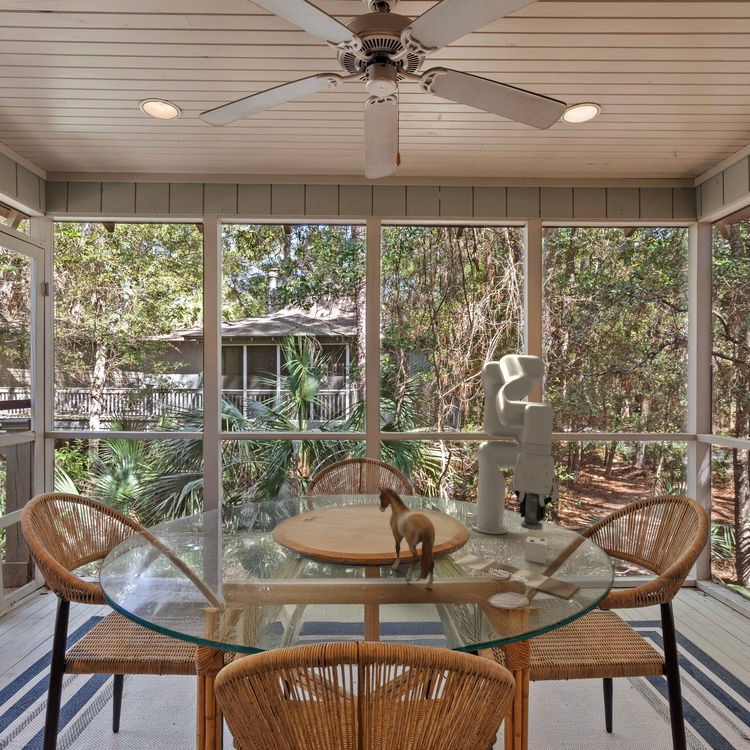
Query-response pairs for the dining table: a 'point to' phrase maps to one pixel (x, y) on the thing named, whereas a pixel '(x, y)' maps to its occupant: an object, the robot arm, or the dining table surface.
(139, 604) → the dining table surface
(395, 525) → the horse figurine
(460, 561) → the game board
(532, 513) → the pawn
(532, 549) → the die
